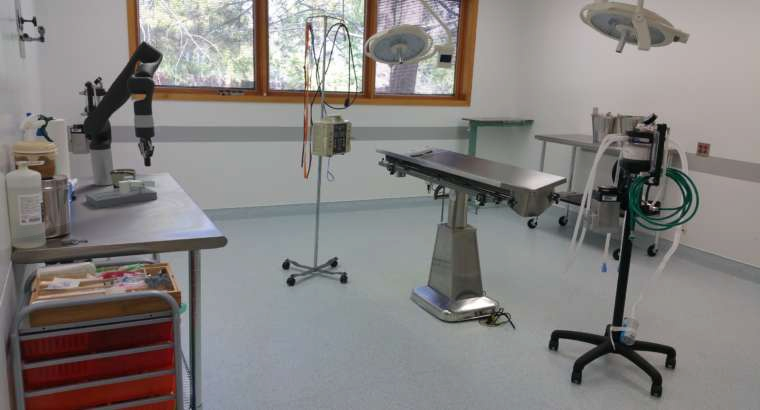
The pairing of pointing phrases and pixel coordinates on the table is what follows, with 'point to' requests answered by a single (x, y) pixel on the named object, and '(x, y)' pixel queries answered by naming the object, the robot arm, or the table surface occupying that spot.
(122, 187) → the white slider
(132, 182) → the rocker
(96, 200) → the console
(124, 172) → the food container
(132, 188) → the grey slider
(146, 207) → the table surface
